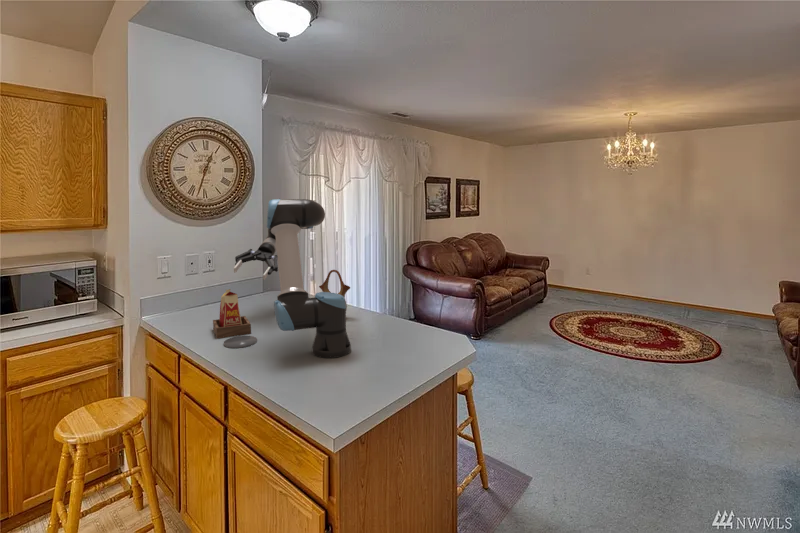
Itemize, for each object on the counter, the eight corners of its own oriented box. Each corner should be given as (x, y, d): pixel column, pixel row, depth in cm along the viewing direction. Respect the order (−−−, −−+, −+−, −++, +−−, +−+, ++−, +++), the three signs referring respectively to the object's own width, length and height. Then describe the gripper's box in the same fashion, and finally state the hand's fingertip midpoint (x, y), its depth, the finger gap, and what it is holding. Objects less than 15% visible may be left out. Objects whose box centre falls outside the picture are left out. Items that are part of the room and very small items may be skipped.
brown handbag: (353, 317, 212) (353, 268, 208) (347, 322, 203) (346, 271, 199) (323, 315, 216) (322, 267, 211) (316, 320, 207) (314, 270, 203)
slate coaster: (259, 344, 172) (259, 343, 172) (226, 350, 166) (226, 348, 166) (253, 335, 183) (253, 333, 183) (221, 340, 177) (221, 338, 177)
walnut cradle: (251, 333, 186) (250, 323, 185) (217, 338, 179) (216, 328, 179) (245, 325, 198) (245, 315, 197) (213, 329, 191) (212, 320, 191)
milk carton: (244, 332, 188) (241, 288, 185) (222, 335, 184) (219, 291, 180) (239, 326, 196) (237, 284, 193) (218, 329, 191) (215, 287, 188)
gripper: (292, 260, 208) (276, 286, 190) (243, 248, 208) (222, 273, 191) (292, 248, 203) (276, 273, 186) (243, 236, 203) (221, 260, 186)
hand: (249, 273), depth 188 cm, fingers open, 13 cm apart
